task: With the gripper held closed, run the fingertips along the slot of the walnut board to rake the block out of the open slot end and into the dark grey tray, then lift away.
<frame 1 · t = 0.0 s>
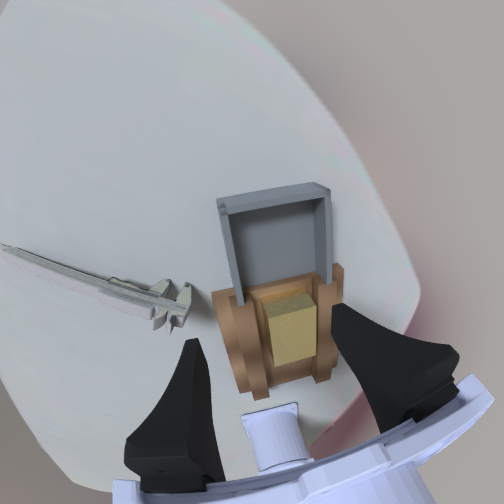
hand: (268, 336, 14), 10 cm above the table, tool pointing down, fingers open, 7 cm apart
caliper: (81, 265, 21), on the table
slot board: (283, 334, 27), on the table
block: (284, 318, 25), point 1 cm above the table, touching slot board
tray: (272, 236, 23), on the table
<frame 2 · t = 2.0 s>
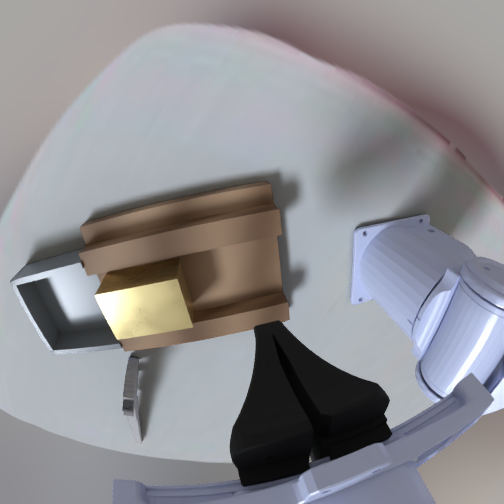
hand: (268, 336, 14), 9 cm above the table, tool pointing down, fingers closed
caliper: (136, 405, 28), on the table
slot board: (189, 273, 21), on the table
block: (149, 289, 20), point 1 cm above the table, touching slot board
tray: (73, 296, 20), on the table
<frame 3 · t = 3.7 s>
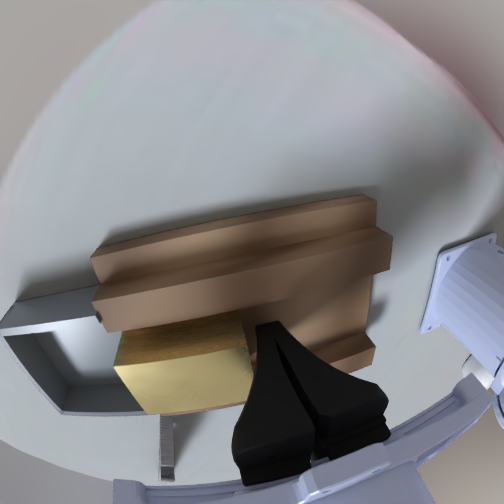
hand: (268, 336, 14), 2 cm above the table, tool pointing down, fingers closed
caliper: (163, 450, 22), on the table
slot board: (251, 317, 15), on the table
plain white apple: (470, 357, 28), on the table
block: (188, 344, 14), point 1 cm above the table, touching gripper, slot board
tray: (83, 345, 14), on the table
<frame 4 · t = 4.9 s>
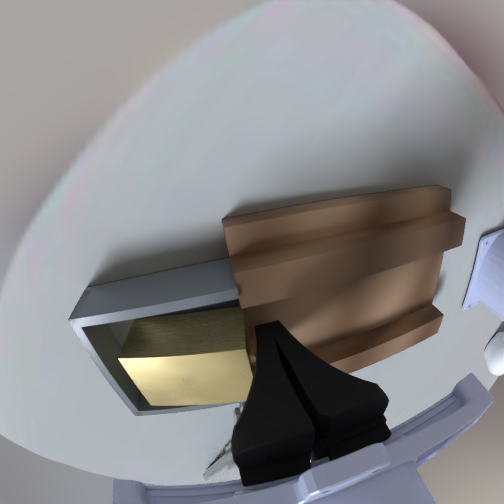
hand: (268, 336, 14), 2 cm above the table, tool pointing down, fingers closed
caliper: (220, 445, 23), on the table
slot board: (352, 290, 16), on the table
plain white apple: (490, 341, 29), on the table
block: (196, 341, 14), point 1 cm above the table, tilted 8°, touching gripper
tray: (173, 332, 15), on the table
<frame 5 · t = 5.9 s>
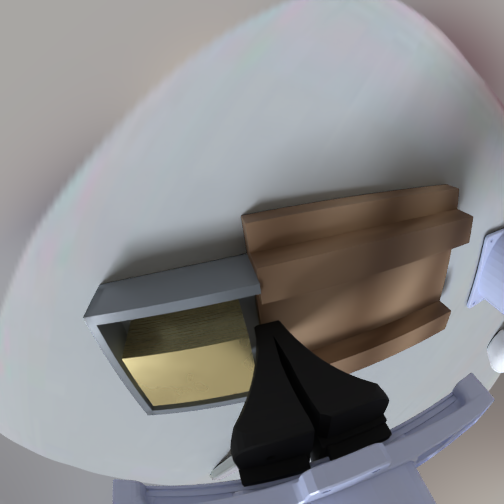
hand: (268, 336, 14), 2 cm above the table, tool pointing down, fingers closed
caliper: (229, 444, 23), on the table
slot board: (364, 287, 16), on the table
plain white apple: (493, 339, 29), on the table
block: (192, 337, 15), resting on tray, touching gripper
tray: (188, 330, 15), on the table
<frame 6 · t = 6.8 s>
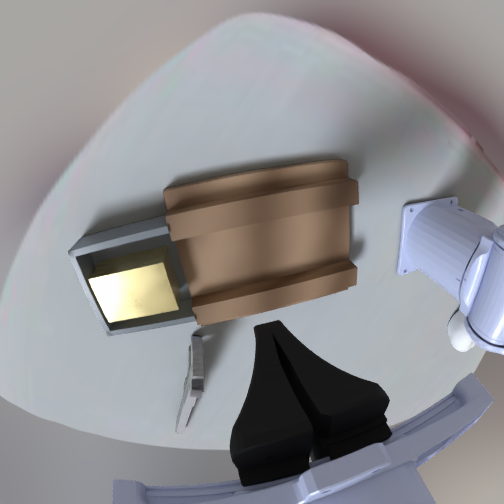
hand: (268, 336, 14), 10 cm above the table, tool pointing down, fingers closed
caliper: (184, 391, 29), on the table
slot board: (267, 242, 22), on the table
plain white apple: (454, 318, 35), on the table
block: (139, 275, 21), resting on tray
tray: (137, 270, 21), on the table
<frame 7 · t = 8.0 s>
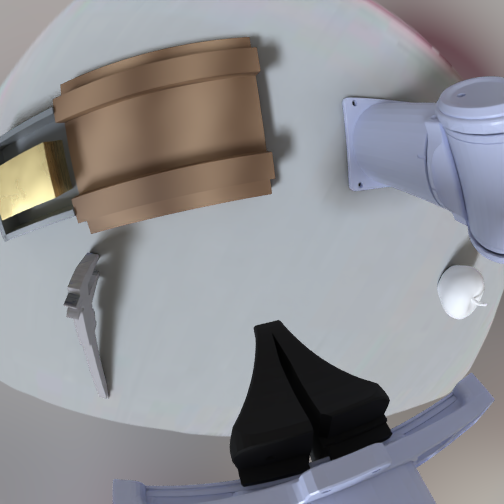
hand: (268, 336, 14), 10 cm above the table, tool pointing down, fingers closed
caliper: (98, 338, 24), on the table
slot board: (161, 130, 17), on the table
plain white apple: (445, 278, 30), on the table
block: (38, 176, 16), resting on tray
tray: (39, 172, 16), on the table
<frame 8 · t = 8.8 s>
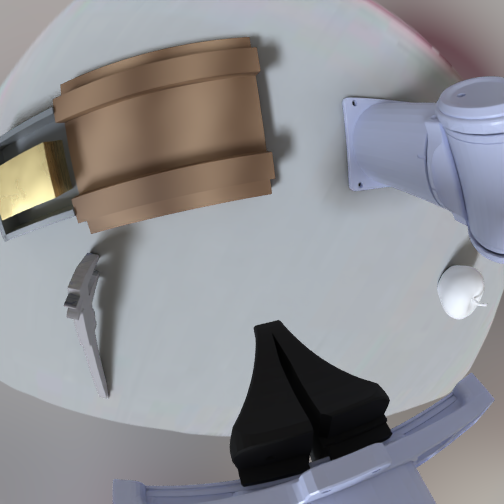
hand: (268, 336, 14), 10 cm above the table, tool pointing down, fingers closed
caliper: (98, 338, 24), on the table
slot board: (161, 130, 17), on the table
plain white apple: (445, 278, 30), on the table
block: (38, 176, 16), resting on tray
tray: (39, 172, 16), on the table
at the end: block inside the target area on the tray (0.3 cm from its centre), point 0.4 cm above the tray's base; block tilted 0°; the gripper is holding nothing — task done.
